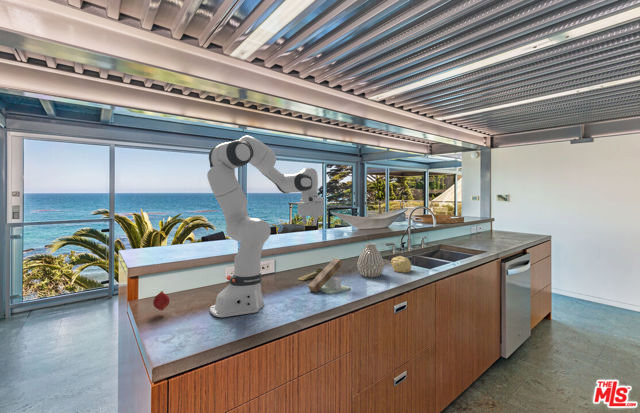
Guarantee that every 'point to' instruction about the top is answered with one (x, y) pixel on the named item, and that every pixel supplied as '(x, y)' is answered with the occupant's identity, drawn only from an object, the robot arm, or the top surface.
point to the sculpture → (401, 264)
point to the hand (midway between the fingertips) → (309, 224)
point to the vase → (370, 262)
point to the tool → (310, 275)
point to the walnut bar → (325, 275)
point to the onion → (161, 301)
